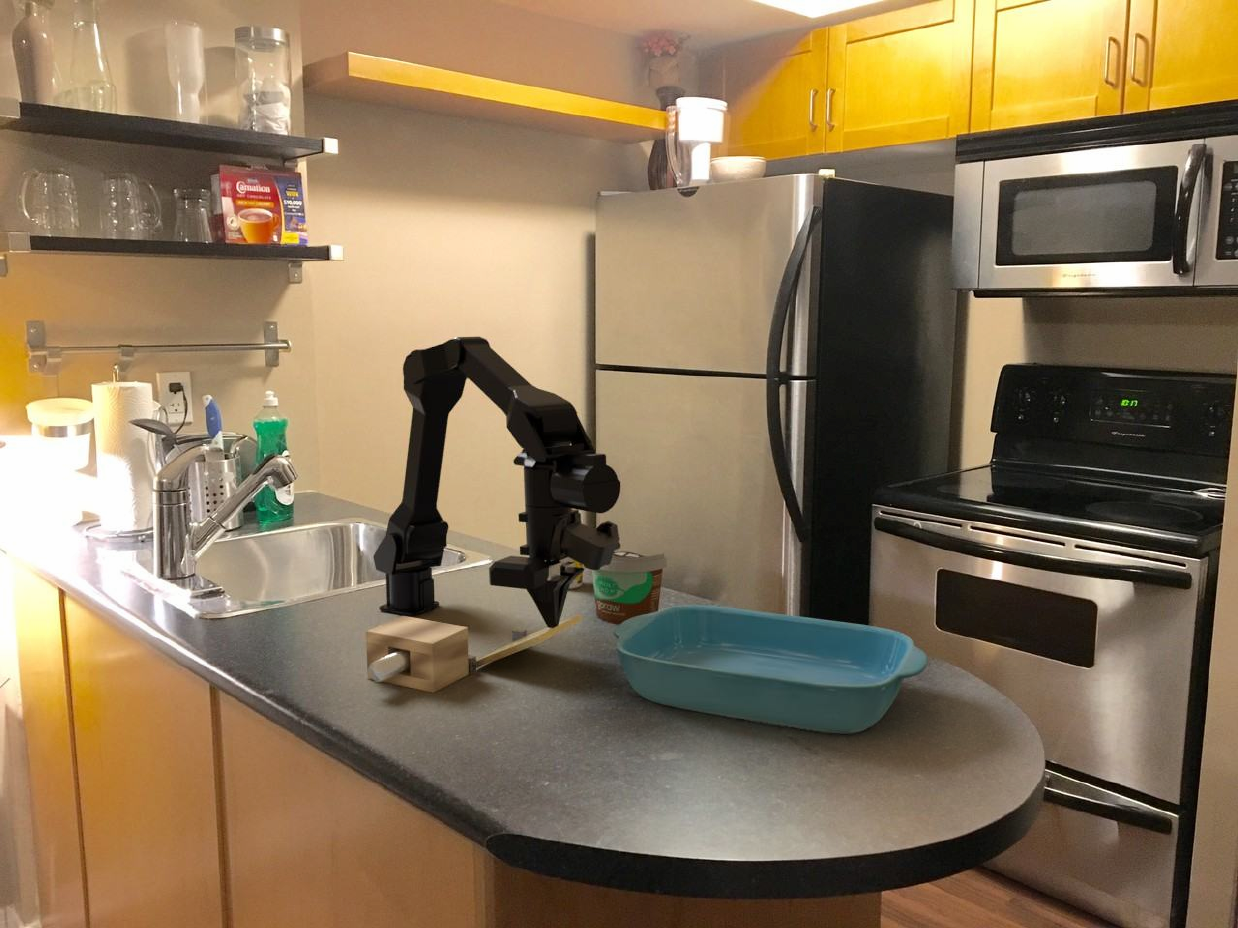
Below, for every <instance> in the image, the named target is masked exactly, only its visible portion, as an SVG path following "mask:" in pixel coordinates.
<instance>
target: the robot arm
mask: <svg viewBox="0 0 1238 928" xmlns="http://www.w3.org/2000/svg"><path fill="white" fill-rule="evenodd" d="M402 374H403V391H404V393H405V395H406V397H407V398H408V401H409V402H410V404H411V406H412V415H411V422H410V423H411V424H410V430H409V441H408V450H407V457H406V459H407V460H406V464H405V465H406V466H405V467H406V468H405V476H404V482H403V483H404V485H403V490H402V491H403V492H402V499H401V503H400V504H399V505H398V506H397V507H396V509H395V510H394V511H393V513H392V514H391V515H390V516H389V518H388V521H387V522H388V523H387V527H386V530H385V534H384V537H383V539H382V541H381V542H380V544H379V545H378V547H377V548H376V551H375V552H374V554H373V556H372V557H373V562H374V567H375V569H376V571H379V572H381V573H384V574H385V597H386V599H385V600H386V603H385V604H383V605H381V606H379V611H383V612H390V613H395V614H401V615H404V616H409V617H413V616H416V615H419V614H421V613H423V612H427V611H429V610H431V609H433V608H434V609H435V608H436V607H438V606H440V601H436V599H435V579H434V578H433V568H435V567H437V568H439V567H441V566H442V563H443V562H442V561H443V556H444V552H445V548H446V547H447V544H448V543H447V536H448V532H449V524H448V522H447V521H446V520H444V519H443V516H442V515H441V513H440V511H439V509H438V501H439V489H440V484H441V475H442V466H443V460H444V452H445V444H446V438H447V428H448V422H449V421H448V420H449V414H450V412H451V411H452V410H453V409H454V408H455V406H456V405H457V403H458V402H459V401H460V400H461V399H462V397H463V393H464V391H465V386H466V382H467V379H468V380H470V382H472V383H473V385H475V387H477V388H478V389H479V390H480V391H481V392H482V393H483V394H484V395H485V396H486V397H487V398H488V399H489V400H490V401H491V402H492V403H494V404H495V405H496V406H497V408H499V409H500V410H501V412H502V413H503V414H504V415H505V417H506V421H505V422H506V426H505V427H506V429H507V430H508V432H509V433H510V434H511V436H512V437H513V439H514V440H515V441H516V443H517V444H518V446H520V448H521V449H522V451H521V452H519V454H518V455H516V457H515V458H514V459H513V460H512V461H513V464H514V465H515V466H522V467H523V479H524V480H523V482H524V507H525V508H524V509H525V511H522V512H520V513H518V522H519V523H525V531H526V533H525V535H526V538H525V539H526V543H525V544H523V545H520V546H519V555H520V556H519V555H518V556H517V555H509V556H507V557H503V558H501V559H498V560H495V561H494V562H493V564H492V565H491V566H490V567H489V568H488V578H489V585H490V586H496V587H504V588H513V589H514V588H515V589H519V590H520V589H521V590H526V591H527V593H528V594H529V595H530V598H531V599H532V601H533V603H534V604H535V606H536V608H537V610H538V612H539V614H540V616H541V618H542V619H543V621H544V623H545V625H546V626H547V627H549V628H554V627H556V626H558V625H559V623H560V622H561V621H560V620H561V616H562V612H563V611H564V610H563V609H564V605H565V602H566V598H567V595H568V593H569V590H570V589H569V586H570V583H571V582H572V581H573V580H574V579H575V578H576V577H577V576H578V575H579V574H581V573H582V572H583V573H584V572H585V568H586V569H589V570H591V571H592V570H599V569H600V568H601V567H602V566H605V565H610V563H611V560H612V557H613V554H614V552H616V551H617V550H619V549H621V543H620V536H619V534H620V533H619V528H618V524H616V523H615V522H613V521H611V520H607V521H604V522H601V523H600V524H599V525H598V526H597V527H596V526H595V525H594V524H592V525H590V526H589V525H587V524H584V523H582V514H581V513H580V512H579V511H585V512H590V513H594V514H605V513H606V512H609V511H610V510H612V509H613V508H614V506H615V505H616V504H617V502H618V500H619V497H620V494H621V481H620V480H619V477H618V474H617V472H616V471H615V470H614V468H613V467H612V466H610V465H608V464H607V455H606V453H596V451H595V448H594V446H593V445H592V444H593V442H592V440H591V438H590V437H589V435H588V434H587V431H586V430H585V428H584V426H583V424H582V421H581V420H580V418H579V416H578V412H577V410H576V408H575V407H574V405H573V404H572V403H571V402H570V401H569V400H567V399H565V398H563V397H561V396H560V395H558V394H556V393H554V392H550V391H547V390H544V389H541V388H537V386H534V385H533V384H531V383H530V382H529V381H528V380H527V379H526V378H525V377H524V376H523V375H521V374H520V373H519V372H518V371H517V370H516V368H514V367H513V366H511V364H509V363H508V362H507V361H506V360H505V359H504V358H503V357H502V356H500V355H499V354H498V353H497V352H496V351H495V350H494V349H493V348H492V347H491V345H490V342H489V341H488V339H487V338H484V337H481V336H457V337H456V336H454V337H453V338H451V339H448V340H447V341H445V342H443V343H441V344H437V345H434V346H430V347H427V348H424V349H423V348H421V349H413V350H412V351H411V352H410V353H408V354H407V355H406V357H405V360H404V362H403V366H402ZM573 560H575V561H577V562H579V563H581V564H583V568H578V567H575V562H573ZM584 567H585V568H584ZM547 627H546V628H547Z"/></svg>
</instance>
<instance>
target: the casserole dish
mask: <svg viewBox="0 0 1238 928" xmlns="http://www.w3.org/2000/svg"><path fill="white" fill-rule="evenodd" d="M612 632H613V635H614V636H615V637H616V638H617V639H616V641H615V648H616V651H617V654H618V658H619V661H620V663H621V666H622V669H623V671H624V674H625V676H626V679H627V681H628V683H629V684H630V686H631V688H632V689H633V690H634V691H635V692H636V693H637V694H638V695H639V696H641V697H643V698H645V699H647V700H649V701H650V702H653V703H656V704H660V705H662V706H666V707H667V706H668V707H672V708H676V709H681V710H687V711H691V712H697V713H702V714H703V713H704V714H707V715H708V714H709V715H715V716H719V717H724V716H725V717H726V718H730V717H731V719H736V718H737V719H738V720H739V719H740V720H741V719H743V720H744V721H748V720H750V722H754V721H756V722H755V723H760V722H762V723H761V724H766V723H767V724H768V725H772V724H773V726H778V725H780V726H779V727H785V726H787V727H786V728H791V727H794V728H793V729H797V728H798V730H804V729H806V731H810V730H812V731H811V732H818V731H819V732H818V733H829V734H855V733H856V734H857V733H860V732H863V731H865V730H867V729H868V728H870V727H872V726H874V725H875V724H877V723H878V722H879V721H880V720H881V719H883V717H884V716H885V714H886V712H887V711H888V710H889V708H890V707H891V706H892V704H893V703H894V701H895V700H896V697H897V696H898V694H899V691H900V690H901V687H902V685H903V683H904V680H905V679H908V678H911V677H914V676H917V675H919V674H921V673H922V672H923V671H924V670H925V668H926V667H927V665H928V662H929V658H928V655H927V654H926V652H924V651H923V650H922V649H920V648H918V647H917V646H916V645H915V643H914V640H913V639H912V638H911V637H910V636H909V635H906V634H904V633H902V632H899V631H897V630H892V629H888V628H883V627H881V626H875V625H874V626H873V625H866V624H859V623H852V622H845V621H837V620H828V619H821V618H814V617H806V616H797V615H789V614H782V613H776V612H775V613H774V612H767V611H759V610H752V609H743V608H735V607H726V606H717V605H704V604H702V605H701V604H686V605H682V604H681V605H674V606H669V607H666V608H663V609H658V611H657V612H654V613H649V614H645V615H640V616H636V617H632V618H630V619H628V620H626V621H624V622H623V623H621V624H617V626H616V627H615V628H614V629H613V631H612ZM737 719H736V720H737Z"/></svg>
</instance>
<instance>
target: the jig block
mask: <svg viewBox="0 0 1238 928" xmlns="http://www.w3.org/2000/svg"><path fill="white" fill-rule="evenodd" d="M468 629H469V628H468V626H463V625H462V626H461V625H456V624H450V623H446V622H441V621H440V622H439V621H433V620H429V619H423V618H419V617H418V618H417V617H413V616H408V615H402V616H398V617H397V618H394V619H392V620H389V621H386V622H385V623H382V624H380V625H377V626H375V627H372V628H370V629H368V630H366V631H365V641H366V642H365V643H366V644H365V645H366V666H367V667H366V670H367V672H366V673H367V674H366V675H367V679H369V680H373V679H372V678H371V676H370V673H369V666H370V664H371V663H372V662H375V661H377V660H379V659H381V658H383V657H386V656H388V655H390V654H392V653H395V652H397V651H399V650H401V649H404V650H409V651H410V660H411V667H410V668H408V669H406V670H404V671H402V672H400V673H397V674H395V675H393V676H391V677H389V678H387V679H385V680H383V681H381V682H384V683H388V684H392V685H396V686H397V685H398V686H401V687H405V688H411V689H415V690H419V691H423V692H429V693H432V694H433V693H436V692H437V691H438V692H439V690H441V689H443V688H445V687H447V686H449V685H451V684H453V683H454V682H456V681H458V680H461V679H462V678H464V677H466V676H468V675H470V674H469V665H468V655H469V630H468Z"/></svg>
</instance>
